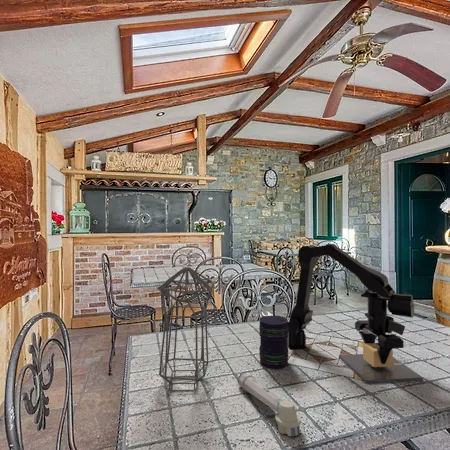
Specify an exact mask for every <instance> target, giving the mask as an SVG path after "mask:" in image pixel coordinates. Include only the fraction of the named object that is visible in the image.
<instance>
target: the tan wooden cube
mask: <svg viewBox="0 0 450 450" xmlns="http://www.w3.org/2000/svg"><path fill="white" fill-rule="evenodd" d="M375 343H376V342H375ZM375 343H366V344H365V343H362V354H363V359H364V360H366V361H367V362H368V363H369V364H371V365H372V366H373V367H386V366H393V357H394V353H393V352H394V351H393V349H392V350H391V351H390V353H389V356H388V358H387V361H386V363H385V364H382V363H381V361H380V357H379V354H378V351H377V347H376V344H375Z"/></svg>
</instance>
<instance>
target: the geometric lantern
mask: <svg viewBox="0 0 450 450" xmlns="http://www.w3.org/2000/svg"><path fill="white" fill-rule="evenodd" d="M189 275H190V276H191V278H192V279H193V282H192V281H190V282H189V280H190V279H189V277H190V276H189ZM179 276H180V278H179V280H176V279H177V278H178V277H179ZM184 277H185V278H184ZM183 279H185V280H184V281H183ZM172 283H173V284H175V285H176V288H175V289H174V288H169V286H170V285H171V284H172ZM181 284H183V285H184V287H183V286H182V285H181ZM209 284H210V285H209ZM189 285H195V289H194V290H189ZM198 285H199V286H200V288H198ZM213 287H214V281H213V280H211V279H209V278H208V277H205V276H204V275H202V274H201V273H199V272H198V271H196V270H195V269H193V268H192V267H191V266H184V267H183V268H181V269H180V270H179V271H177V272H176V273H174V274H173V275H172V276H170V277H169V278H168V279H167V280H165V282H164V283H163V284H161V285H159V286H158V287H157V288H156V290H158V291H159V292H160V293H161V295H162V301H163V313H164V323H163V332H162V333H163V334H162V341H161V350H160V351H161V352H160V358H159V359H160V361H159V362H160V363H159V372H158V376H159V377H160V378H161V379H163V380H164V381H166V382H167V383H168V388H167V390H168V391H170V392H195V391H196V390H198V389H199V388H198V387H199V382H200V381H201V380H202V379H203V378H205V377H206V373H207V369H208V365H209V346H208V343H209V342H208V339H209V338H208V322H207V321H208V318H207V316H208V315H207V308H208V304H209V300H210V298H211V296H212V291H213ZM179 288H180V289H182V290H178V289H179ZM169 291H170V292H174V296H173V295H172V294H171V293H170V292H169ZM177 293H179V294H181V293H182V294H183V295H182V296H181V298H180V299H178V297H177ZM204 293H208V294H207V297H206V298H205V300H204V302H203V304H202V302H201V300H200V298H199V296H200V295H202V294H204ZM187 294H195V295H193V296H191V297H189V298H187ZM165 297H167V298H168V300H169V302H170V304H171V306H170V307H169V308H168V309H166V299H165ZM195 298H197V299H198V302H199V303H200V305H201V306H197V305H196V306H193V305H191V304H190V302H189V301H191V300H192V299H195ZM171 299H173V300H174V301H175V302H174V304H173V302H172V300H171ZM185 302H186V303H187V305H180V304H181V303H185ZM176 303H177V305H176ZM175 308H176V315H174V309H175ZM179 308H189V309H190V310H191V312H192V314H193V315H194V316H191V315H179ZM193 308H195V309H196V308H197V309H199V308H200V309H201V312H200V315H197V313H196V312H195V311H194V309H193ZM169 314H170V315H169ZM173 318H175V329H174V330H175V331H174V333H175V334H174V345H173V346H174V349H173V358H169V357H170V349H171V337H172V329H173V328H172V327H173V326H172V325H173ZM179 318H190V319H195V358H186V357H185V358H183V357H181V358H180V357H176V356H177V355H176V352H177V351H176V349H177V341H178V340H177V336H178V325H179V324H178V321H179ZM198 318H200V320H201V321H200V323H201V326H200V327H201V342H200V343H201V346H200V347H201V352H200V358H198V353H199V352H198V346H199V345H198ZM169 322H170V323H169ZM204 328H205V339H204ZM204 340H205V341H204ZM164 347H165V353H164ZM205 349H206V350H205ZM205 351H206V354H205ZM164 354H165V358H164V357H163V356H164ZM205 356H206V360H205ZM163 358H164V365H163ZM171 361H172V362H173V369H172V367H171V364H170V362H171ZM175 361H192V362H193V361H194V362H195V369H176V363H175ZM201 363H202V366H201V368H200V365H201ZM167 366H168V367H169V369H170V371H171V373H170V376H168V373H167V372H168V371H167V369H168V367H167ZM199 368H200V369H199ZM200 371H202V375H201V376H200V375H199V373H200ZM163 372H164V374H162V373H163ZM177 372H194V375H176V374H177ZM172 380H186V381H194V382H177V381H176V382H175V381H174V382H172ZM173 385H193V389H174V388H173V387H174V386H173Z"/></svg>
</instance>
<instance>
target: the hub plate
mask: <svg viewBox="0 0 450 450" xmlns="http://www.w3.org/2000/svg"><path fill="white" fill-rule="evenodd" d="M338 359H339V360H341V361H342V362H343V363H344V364H345V365H346V366H347V367H348V368H349V369H350V370H351V371H352V372H353V373H354V374H355V375H357V376H358V378H360V379H361V380H362V381H363V382H364V384H383V383H384V384H385V383H402V382H403V383H404V382H405V383H406V382H422V381H424V377H423V376H422V375H420V374H419V373H418V372H416V371H414V370H413V369H412V368H410V367H408V365H405V364H404V363H402V361H400V360H398V359H397V358H395V357H394V356H393V366H386V367H373V366H372V365H371V364H369V363H368V362H367V361H366V360H364V359H363V353H353V354H338Z"/></svg>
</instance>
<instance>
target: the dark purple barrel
mask: <svg viewBox="0 0 450 450" xmlns="http://www.w3.org/2000/svg"><path fill="white" fill-rule="evenodd" d="M288 322H289V319H288V318H286V317H284V316H281V315H265V316H261V317H259V327H258V330H259V332H258V334H259V338H260V339H259V340H260V341H259V342H260V343H259V344H260V345H259V348H258V350H259V351H258V352H259V353H258V354H259V365H260V366H261V367H263V368H265V369H268V370H275V371H277V370H278V371H279V370H283V369H287V367H288V366H289V362H288V361H289V347H288V346H287V338H288Z"/></svg>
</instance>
